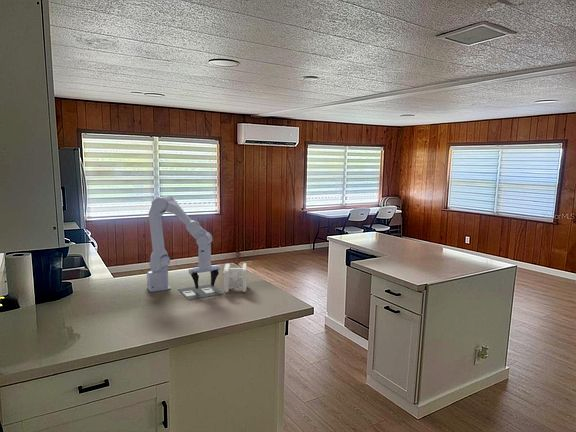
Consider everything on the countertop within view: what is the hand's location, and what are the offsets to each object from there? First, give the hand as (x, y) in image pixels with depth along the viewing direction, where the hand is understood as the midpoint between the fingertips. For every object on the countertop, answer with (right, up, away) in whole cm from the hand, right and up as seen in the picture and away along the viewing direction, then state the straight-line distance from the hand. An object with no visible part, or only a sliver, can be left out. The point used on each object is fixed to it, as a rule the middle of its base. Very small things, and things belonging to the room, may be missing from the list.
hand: (204, 287), depth 185 cm
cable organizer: (+14, -2, +3) cm, 14 cm away
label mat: (-2, -2, -1) cm, 3 cm away
